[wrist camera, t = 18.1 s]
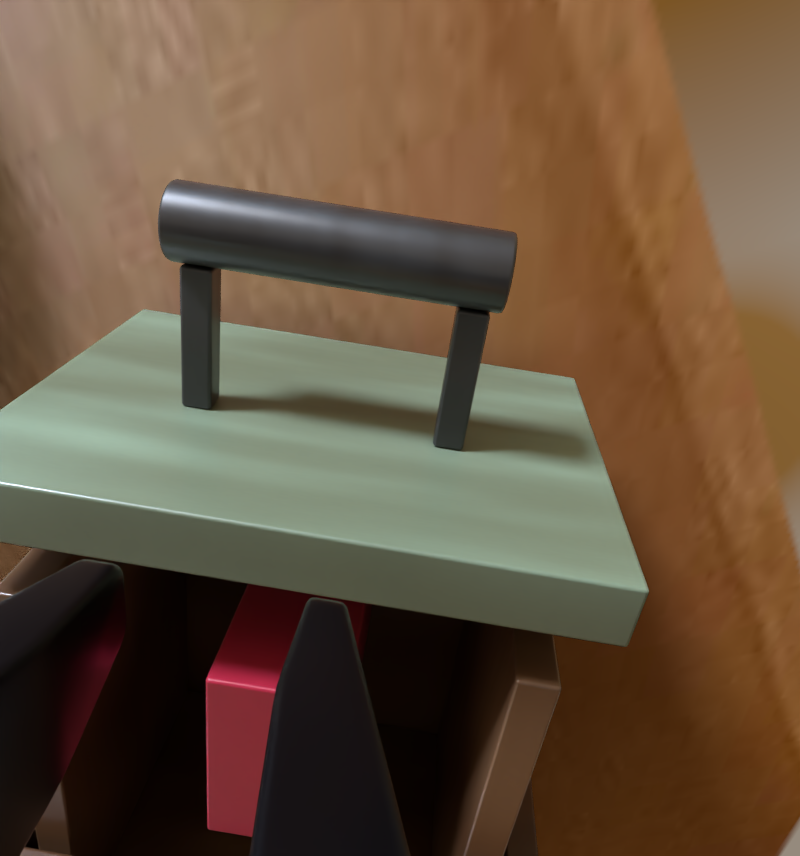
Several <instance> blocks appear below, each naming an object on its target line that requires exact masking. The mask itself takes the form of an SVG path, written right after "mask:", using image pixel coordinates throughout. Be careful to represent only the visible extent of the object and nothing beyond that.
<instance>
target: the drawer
mask: <svg viewBox="0 0 800 856" xmlns="http://www.w3.org/2000/svg"><path fill="white" fill-rule="evenodd" d="M158 233H159V241H160V245H161V249H162V251H163V254H164V255H165V257H166V258H167V259H169V260H170V261H173V262H180V263H185V264H183V265H182V266H181V267H180V313H181V315H177V314H171V313H164V312H158V311H152V310H146V309H144V310H142V311H140V312H139V313H137V314H136V315H135V316H133V317H132V318H130V319H129V320H127V321H126V322H125V323H123V324H122V325H120V326H119V327H117V328H116V329H115V330H113V331H112V332H110V333H109V334H107V335H106V336H105V337H103V338H102V339H100V340H99V341H98V342H96V343H95V344H93V345H92V346H90V347H89V348H88V349H86V350H85V351H83V352H82V353H80V354H79V355H78V356H76V357H75V358H73V359H72V360H70V361H69V362H68V363H66V364H65V365H63V366H62V367H61V368H59V369H58V370H56V371H55V372H53V373H52V374H51V375H49V376H48V377H46V378H45V379H43V380H42V381H41V382H39V383H38V384H36V385H35V386H33V387H32V388H31V389H29V390H28V391H26V392H25V393H23V394H22V395H21V396H19V397H18V398H16V399H15V400H14V401H12V402H11V403H9V404H8V405H6V406H5V407H4V408H2V409H1V410H0V542H2V543H8V544H14V545H19V546H25V547H31V548H32V549H31V550H30V551H29V552H28V554H27V555H26V556H25V557H24V558H23V559H22V560H21V561H20V562H19V563H18V564H17V565H16V566H15V567H14V569H13V570H12V571H11V572H10V573H9V574H8V575H7V576H6V577H5V578H4V579H3V580H2V581H1V582H0V602H1V601H3V600H5V599H6V598H8V597H10V596H12V595H14V594H16V593H18V592H20V591H21V590H23V589H25V588H27V587H29V586H31V585H33V584H35V583H37V582H38V581H40V580H42V579H44V578H46V577H48V576H50V575H52V574H54V573H55V572H57V571H59V570H61V569H63V568H65V567H67V566H69V565H71V564H72V563H74V562H77V561H79V560H83V559H89V560H95V561H101V562H107V563H113V564H116V565H118V566H119V567H120V568H121V570H122V572H123V577H124V592H125V607H126V630H125V635H124V638H123V641H122V644H121V646H120V649H119V651H118V653H117V656H116V658H115V660H114V663H113V665H112V667H111V669H110V672H109V674H108V676H107V679H106V681H105V683H104V686H103V688H102V690H101V693H100V695H99V697H98V699H97V702H96V704H95V706H94V709H93V711H92V713H91V716H90V718H89V720H88V723H87V725H86V727H85V729H84V732H83V734H82V736H81V739H80V741H79V743H78V746H77V748H76V750H75V752H74V755H73V757H72V759H71V761H70V763H69V766H68V768H67V770H66V772H65V774H64V777H63V779H62V780H61V782H60V784H59V786H58V788H57V790H56V792H55V794H54V796H53V797H52V799H51V801H50V803H49V805H48V807H47V808H46V810H45V812H44V814H43V815H42V817H41V819H40V821H39V823H38V824H37V826H36V828H35V830H36V835H37V840H38V846H39V850H45V851H50V852H56V853H62V854H68V855H73V856H249V853H250V846H251V840H252V837H249V836H243V835H237V834H231V833H225V832H219V831H213V830H209V829H208V828H207V759H206V678H207V676H208V673H209V671H210V669H211V667H212V664H213V662H214V660H215V657H216V655H217V653H218V651H219V648H220V646H221V644H222V642H223V639H224V637H225V635H226V632H227V630H228V628H229V626H230V623H231V621H232V619H233V617H234V614H235V612H236V610H237V607H238V605H239V603H240V601H241V598H242V596H243V594H244V592H245V589H246V587H247V585H248V584H252V585H258V586H264V587H270V588H276V589H282V590H288V591H294V592H300V593H306V594H312V595H318V596H324V597H330V598H336V599H342V600H348V601H354V602H359V603H365V604H371V605H372V609H371V617H370V622H369V628H368V633H367V639H366V644H365V650H364V655H363V660H362V667H363V671H364V675H365V679H366V683H367V687H368V691H369V695H370V699H371V703H372V707H373V711H374V714H375V718H376V722H377V726H378V730H379V734H380V738H381V742H382V746H383V750H384V754H385V758H386V761H387V765H388V769H389V773H390V777H391V781H392V785H393V789H394V793H395V797H396V801H397V805H398V808H399V812H400V816H401V820H402V824H403V828H404V832H405V836H406V840H407V844H408V848H409V851H410V855H411V856H503V855H504V853H505V850H506V847H507V844H508V841H509V838H510V835H511V833H512V830H513V827H514V824H515V821H516V818H517V815H518V812H519V810H520V807H521V804H522V801H523V798H524V795H525V792H526V789H527V787H528V784H529V781H530V778H531V775H532V772H533V769H534V766H535V764H536V761H537V758H538V755H539V752H540V749H541V746H542V743H543V741H544V738H545V735H546V732H547V729H548V726H549V723H550V721H551V718H552V715H553V712H554V709H555V706H556V703H557V700H558V698H559V695H560V692H561V682H560V676H559V669H558V663H557V656H556V649H555V643H554V636H553V635H556V636H562V637H568V638H574V639H580V640H586V641H592V642H598V643H604V644H610V645H616V646H622V647H627V646H628V644H629V641H630V639H631V636H632V634H633V631H634V629H635V626H636V624H637V621H638V619H639V616H640V614H641V611H642V608H643V606H644V603H645V601H646V598H647V596H648V593H649V589H648V586H647V583H646V580H645V578H644V575H643V572H642V569H641V566H640V563H639V561H638V558H637V555H636V552H635V549H634V546H633V544H632V541H631V538H630V535H629V532H628V529H627V527H626V524H625V521H624V518H623V515H622V512H621V510H620V507H619V504H618V501H617V498H616V495H615V493H614V490H613V487H612V484H611V481H610V478H609V475H608V473H607V470H606V467H605V464H604V461H603V458H602V456H601V453H600V450H599V447H598V444H597V441H596V439H595V436H594V433H593V430H592V427H591V424H590V422H589V419H588V416H587V413H586V410H585V407H584V405H583V402H582V399H581V396H580V393H579V390H578V388H577V385H576V382H575V379H574V378H569V377H563V376H557V375H550V374H544V373H538V372H532V371H526V370H519V369H513V368H507V367H501V366H494V365H488V364H482V363H481V358H482V353H483V348H484V344H485V339H486V334H487V329H488V324H489V319H490V315H489V312H494V313H501V312H502V311H503V310H504V308H505V305H506V302H507V299H508V295H509V291H510V287H511V283H512V278H513V272H514V267H515V260H516V253H517V234H516V233H515V232H510V231H504V230H498V229H491V228H485V227H479V226H472V225H466V224H459V223H453V222H447V221H440V220H434V219H428V218H421V217H415V216H408V215H402V214H396V213H389V212H383V211H377V210H370V209H364V208H357V207H351V206H345V205H338V204H332V203H326V202H319V201H313V200H306V199H300V198H294V197H287V196H281V195H275V194H268V193H262V192H255V191H249V190H243V189H236V188H230V187H223V186H217V185H211V184H204V183H198V182H192V181H185V180H179V179H176V180H173V181H171V182H170V183H169V184H168V185H167V187H166V188H165V191H164V193H163V196H162V199H161V203H160V208H159V217H158ZM221 269H224V270H230V271H236V272H243V273H249V274H255V275H261V276H268V277H274V278H280V279H287V280H293V281H299V282H305V283H312V284H318V285H324V286H331V287H337V288H343V289H349V290H356V291H362V292H368V293H375V294H381V295H387V296H393V297H400V298H406V299H412V300H419V301H425V302H431V303H437V304H444V305H450V306H456V312H455V317H454V323H453V329H452V334H451V340H450V345H449V351H448V356H447V358H445V357H438V356H432V355H426V354H420V353H413V352H407V351H401V350H395V349H389V348H382V347H376V346H370V345H364V344H357V343H351V342H345V341H339V340H332V339H326V338H320V337H314V336H308V335H301V334H295V333H289V332H283V331H276V330H270V329H264V328H258V327H252V326H245V325H239V324H233V323H227V322H220V301H221Z"/></svg>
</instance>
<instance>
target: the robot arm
mask: <svg viewBox="0 0 800 856" xmlns="http://www.w3.org/2000/svg"><path fill="white" fill-rule="evenodd" d="M125 630H126V607H125V592H124V577H123V572H122V570H121V568H120V567H119V566H118V565H116V564H113V563H107V562H101V561H95V560H89V559H83V560H79V561H77V562H74V563H72V564H71V565H69V566H67V567H65V568H63V569H61V570H59V571H57V572H55V573H54V574H52V575H50V576H48V577H46V578H44V579H42V580H40V581H38V582H37V583H35V584H33V585H31V586H29V587H27V588H25V589H23V590H21V591H20V592H18V593H16V594H14V595H12V596H10V597H8V598H6V599H5V600H3V601H1V602H0V856H20V855H21V853H22V851H23V849H24V848H25V846H26V844H27V842H28V840H29V839H30V837H31V835H32V833H33V832H34V830H35V828H36V826H37V824H38V823H39V821H40V819H41V817H42V815H43V814H44V812H45V810H46V808H47V807H48V805H49V803H50V801H51V799H52V797H53V796H54V794H55V792H56V790H57V788H58V786H59V784H60V782H61V780H62V779H63V777H64V774H65V772H66V770H67V768H68V766H69V763H70V761H71V759H72V757H73V755H74V752H75V750H76V748H77V746H78V743H79V741H80V739H81V736H82V734H83V732H84V729H85V727H86V725H87V723H88V720H89V718H90V716H91V713H92V711H93V709H94V706H95V704H96V702H97V699H98V697H99V695H100V693H101V690H102V688H103V686H104V683H105V681H106V679H107V676H108V674H109V672H110V669H111V667H112V665H113V663H114V660H115V658H116V656H117V653H118V651H119V649H120V646H121V644H122V641H123V638H124V635H125ZM249 856H411V855H410V851H409V848H408V844H407V840H406V836H405V832H404V828H403V824H402V820H401V816H400V812H399V808H398V805H397V801H396V797H395V793H394V789H393V785H392V781H391V777H390V773H389V769H388V765H387V761H386V758H385V754H384V750H383V746H382V742H381V738H380V734H379V730H378V726H377V722H376V718H375V714H374V711H373V707H372V703H371V699H370V695H369V691H368V687H367V683H366V679H365V675H364V671H363V667H362V664H361V660H360V656H359V652H358V648H357V644H356V640H355V636H354V632H353V628H352V624H351V620H350V617H349V613H348V609H347V607H346V605H345V604H344V603H343V602H340V601H334V600H328V599H322V598H316V597H312V598H310V599H309V600H308V601H307V603H306V605H305V608H304V610H303V613H302V616H301V619H300V621H299V624H298V627H297V630H296V632H295V635H294V638H293V641H292V643H291V646H290V649H289V652H288V654H287V657H286V660H285V662H284V665H283V668H282V671H281V674H280V677H279V680H278V683H277V687H276V691H275V696H274V701H273V706H272V713H271V719H270V725H269V732H268V738H267V744H266V751H265V757H264V764H263V770H262V776H261V783H260V789H259V795H258V802H257V808H256V815H255V821H254V827H253V834H252V840H251V846H250V853H249Z"/></svg>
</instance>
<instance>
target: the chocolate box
mask: <svg viewBox="0 0 800 856" xmlns="http://www.w3.org/2000/svg"><path fill="white" fill-rule="evenodd" d="M312 597H316V598H322V599H328V600H334V601H340V602H343V603H344V604H345V605H346V607H347V609H348V613H349V617H350V620H351V624H352V628H353V632H354V636H355V640H356V644H357V648H358V652H359V656H360V660H361V664H362V660H363V655H364V650H365V644H366V639H367V633H368V628H369V622H370V617H371V609H372V605H371V604H365V603H359V602H354V601H348V600H342V599H336V598H330V597H324V596H318V595H312V594H306V593H300V592H294V591H288V590H282V589H276V588H270V587H264V586H258V585H252V584H248V585H247V587H246V589H245V592H244V594H243V596H242V598H241V601H240V603H239V605H238V607H237V610H236V612H235V614H234V617H233V619H232V621H231V623H230V626H229V628H228V630H227V632H226V635H225V637H224V639H223V642H222V644H221V646H220V648H219V651H218V653H217V655H216V657H215V660H214V662H213V664H212V667H211V669H210V671H209V673H208V676H207V678H206V759H207V828H208V829H209V830H213V831H219V832H225V833H231V834H237V835H243V836H249V837H252V834H253V827H254V821H255V815H256V808H257V802H258V795H259V789H260V783H261V776H262V770H263V764H264V757H265V751H266V744H267V738H268V732H269V725H270V719H271V713H272V706H273V701H274V696H275V691H276V687H277V683H278V680H279V677H280V674H281V671H282V668H283V665H284V662H285V660H286V657H287V654H288V652H289V649H290V646H291V643H292V641H293V638H294V635H295V632H296V630H297V627H298V624H299V621H300V619H301V616H302V613H303V610H304V608H305V605H306V603H307V601H308V600H309V599H310V598H312Z"/></svg>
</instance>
